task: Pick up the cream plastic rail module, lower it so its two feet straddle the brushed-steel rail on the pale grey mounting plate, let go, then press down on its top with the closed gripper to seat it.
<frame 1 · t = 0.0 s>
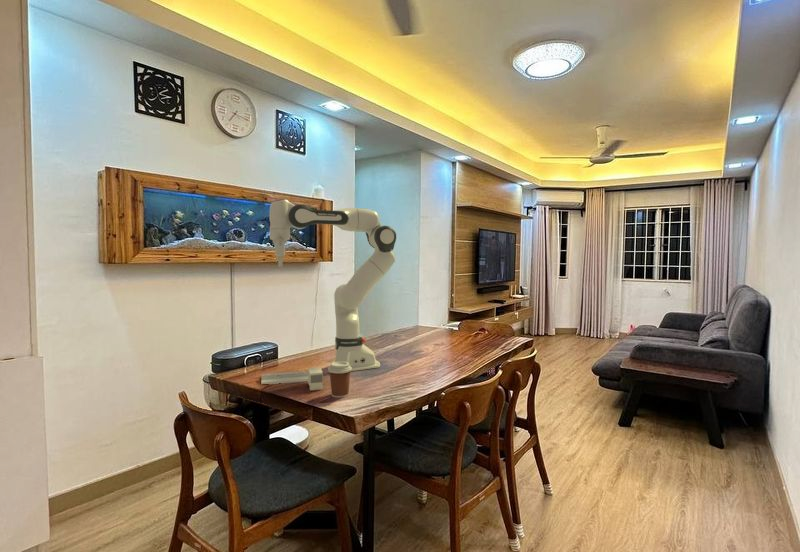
hand: (280, 266, 189), 48 cm above the table, fingers open, 8 cm apart
rail plate: (286, 379, 180), on the table
coffee cup: (340, 395, 160), on the table
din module: (315, 386, 170), on the table
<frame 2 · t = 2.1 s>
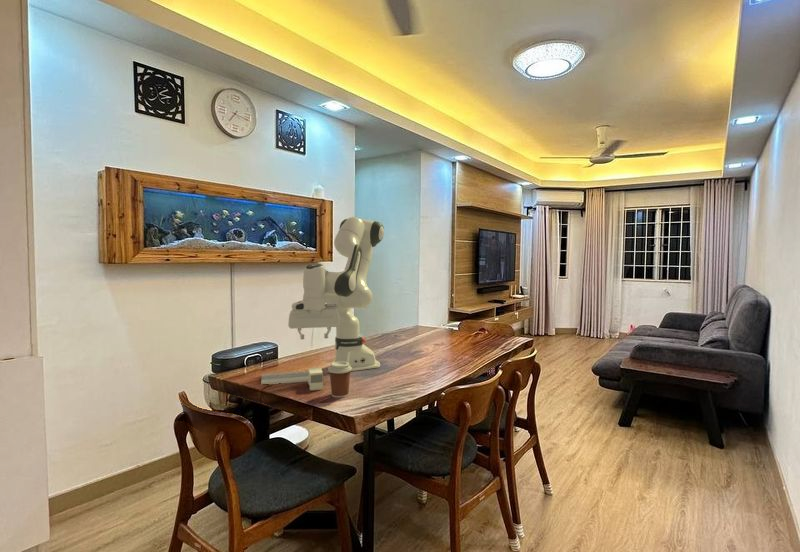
hand: (314, 338, 169), 20 cm above the table, fingers open, 8 cm apart
nothing on the table moved.
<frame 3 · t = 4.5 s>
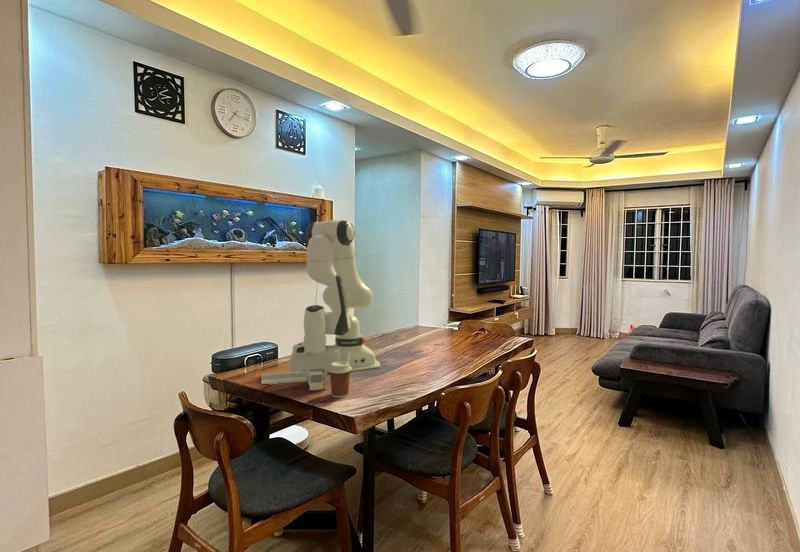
hand: (315, 380, 170), 3 cm above the table, fingers closed on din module, 5 cm apart
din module: (315, 386, 170), on the table, touching gripper
everything else where it was.
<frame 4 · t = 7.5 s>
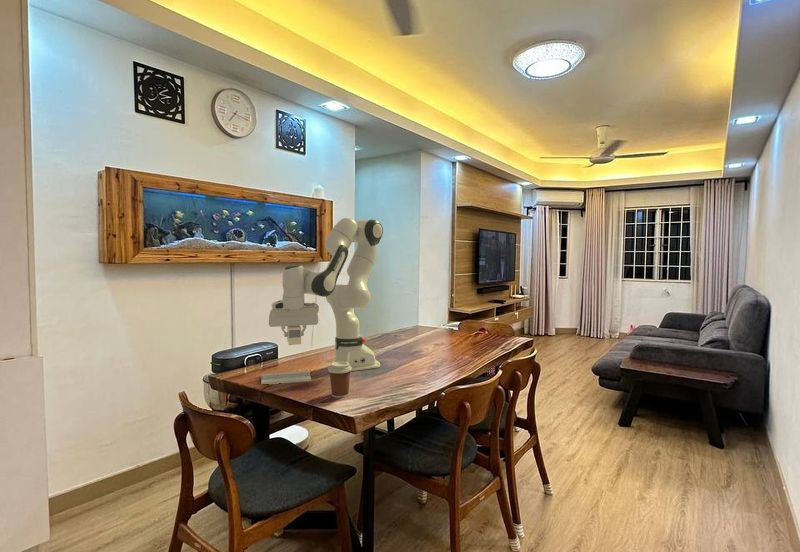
hand: (293, 336, 176), 19 cm above the table, fingers closed on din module, 5 cm apart
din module: (294, 342, 176), point 16 cm above the table, touching gripper
everything else where it was.
when the fingers open (5 cm above the table, at t = 10.5 s): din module stays where it is, resting on rail plate.
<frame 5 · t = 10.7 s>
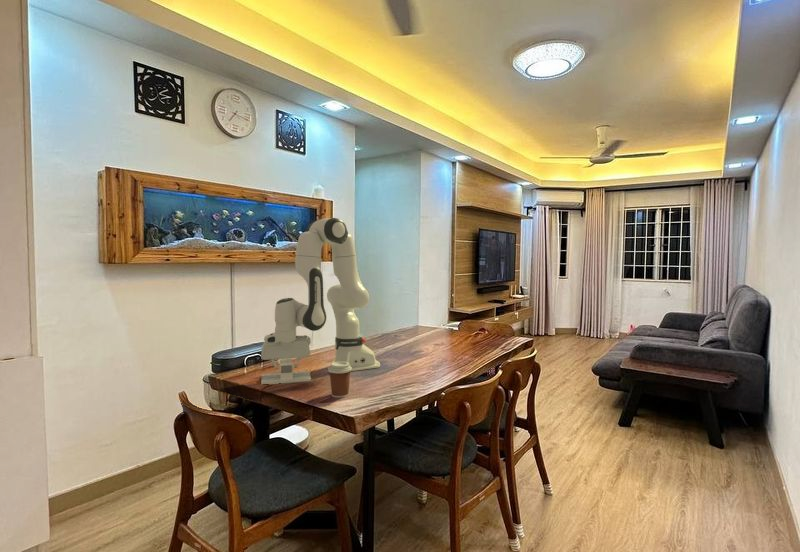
hand: (286, 368, 180), 5 cm above the table, fingers open, 7 cm apart
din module: (286, 376, 180), point 1 cm above the table, touching rail plate
everything else where it was.
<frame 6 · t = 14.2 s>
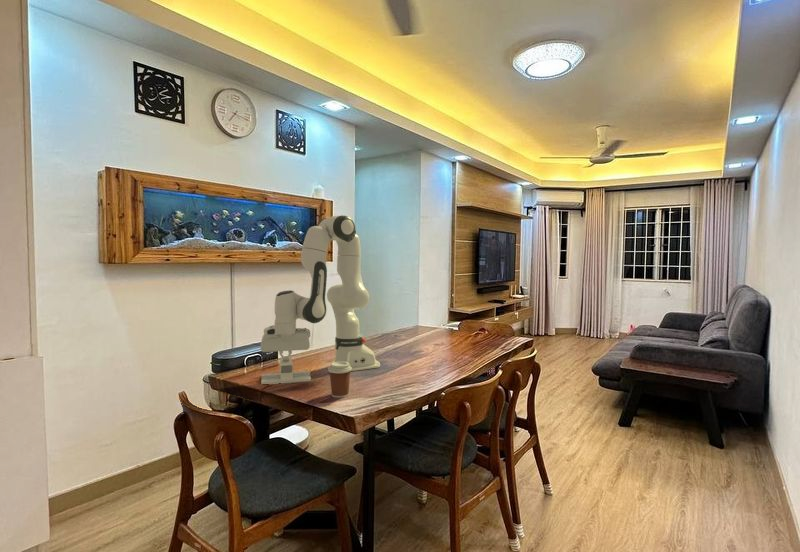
hand: (285, 360, 179), 8 cm above the table, fingers closed, pressing on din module
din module: (286, 376, 180), point 1 cm above the table, touching gripper, rail plate
everything else where it was.
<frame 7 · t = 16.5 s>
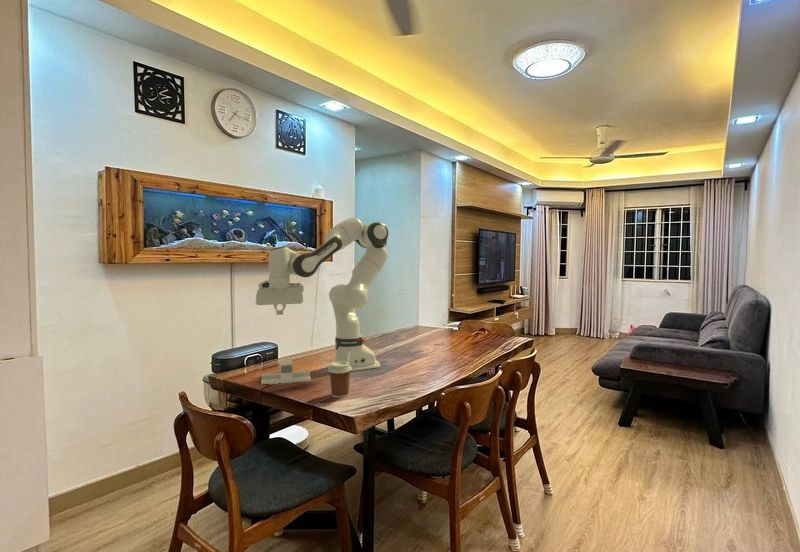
hand: (279, 314, 186), 27 cm above the table, fingers closed
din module: (286, 376, 180), point 1 cm above the table, touching rail plate
everything else where it was.
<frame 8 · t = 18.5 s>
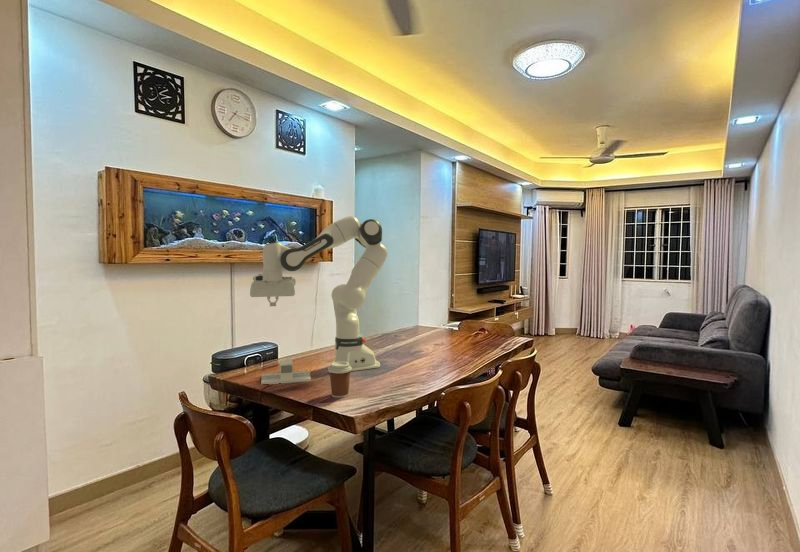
hand: (272, 306, 197), 29 cm above the table, fingers closed
nothing on the table moved.
at the end: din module inside the target area on the rail plate (0.1 cm from its centre), point 1.0 cm above the rail plate's base; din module tilted 0°; the gripper is holding nothing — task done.
